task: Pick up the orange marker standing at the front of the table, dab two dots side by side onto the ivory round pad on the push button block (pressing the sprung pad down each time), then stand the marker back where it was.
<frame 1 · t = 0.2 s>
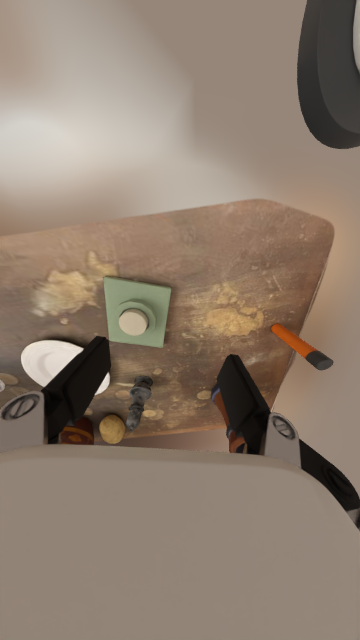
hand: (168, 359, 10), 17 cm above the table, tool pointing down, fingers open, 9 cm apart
push button block: (139, 314, 27), on the table
jug: (78, 421, 48), on the table
marker: (275, 327, 29), on the table
chess piece: (143, 381, 37), on the table
potato: (116, 417, 47), on the table
circle pad: (134, 322, 24), point 3 cm above the table, slide at 0.1 cm
plate: (73, 366, 34), on the table
mug: (227, 383, 38), on the table
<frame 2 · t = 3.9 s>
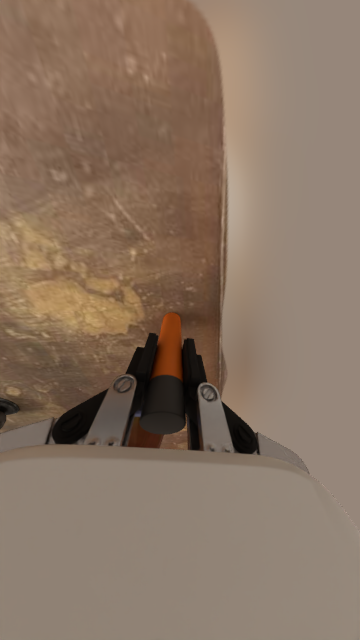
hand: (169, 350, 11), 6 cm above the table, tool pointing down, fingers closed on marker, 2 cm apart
marker: (171, 320, 16), on the table, touching gripper
chess piece: (4, 404, 24), on the table
mug: (136, 407, 25), on the table
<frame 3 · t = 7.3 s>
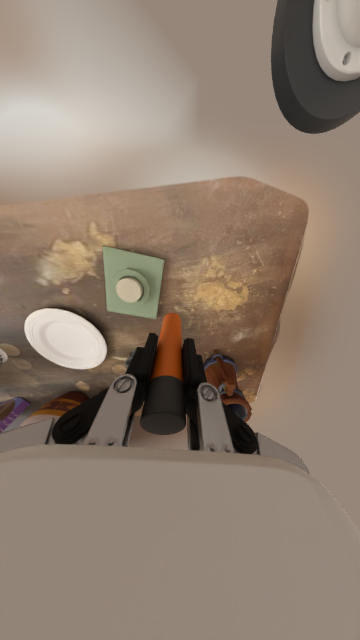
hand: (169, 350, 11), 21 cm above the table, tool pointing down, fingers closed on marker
cereal box: (10, 404, 52), on the table
push button block: (134, 286, 29), on the table
jug: (76, 397, 50), on the table
marker: (172, 320, 16), point 16 cm above the table, touching gripper
chess piece: (138, 355, 40), on the table
circle pad: (129, 290, 26), point 3 cm above the table, slide at 0.1 cm
plate: (73, 338, 37), on the table
mug: (216, 360, 41), on the table
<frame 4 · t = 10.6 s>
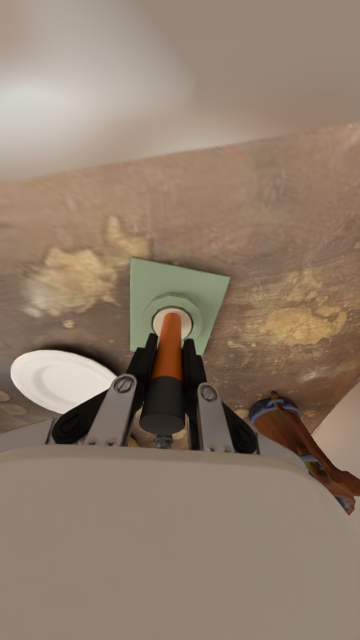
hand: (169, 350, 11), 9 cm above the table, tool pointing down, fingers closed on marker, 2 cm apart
push button block: (173, 315, 19), on the table
marker: (172, 320, 16), point 3 cm above the table, touching circle pad, gripper
chess piece: (167, 398, 30), on the table
potato: (128, 436, 39), on the table
circle pad: (172, 322, 17), point 2 cm above the table, slide at -1.1 cm, touching marker
plate: (79, 381, 27), on the table
mug: (270, 401, 31), on the table
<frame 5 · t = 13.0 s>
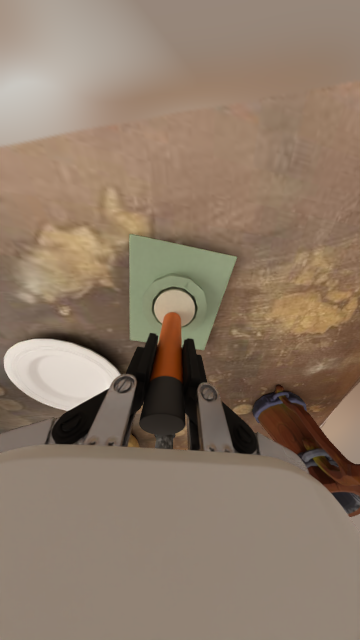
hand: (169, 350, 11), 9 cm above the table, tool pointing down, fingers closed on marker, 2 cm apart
push button block: (175, 301, 18), on the table
marker: (172, 319, 16), point 3 cm above the table, touching circle pad, gripper
chess piece: (168, 392, 29), on the table
potato: (128, 433, 38), on the table
circle pad: (174, 307, 16), point 2 cm above the table, slide at -1.0 cm, touching marker
plate: (77, 374, 26), on the table
mug: (275, 396, 30), on the table
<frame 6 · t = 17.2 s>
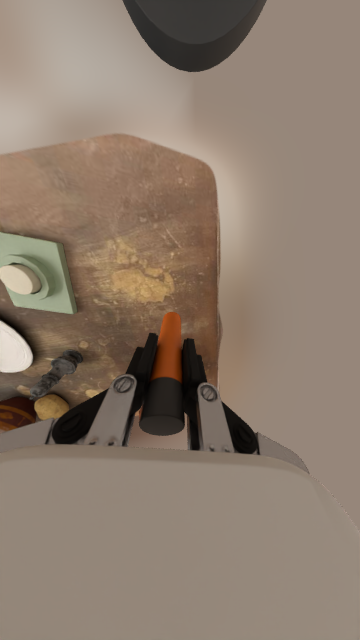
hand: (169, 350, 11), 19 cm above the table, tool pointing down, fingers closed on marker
push button block: (39, 276, 26), on the table
jug: (23, 402, 47), on the table
marker: (172, 319, 16), point 13 cm above the table, touching gripper
chess piece: (73, 356, 36), on the table
potato: (60, 398, 46), on the table
circle pad: (21, 279, 23), point 3 cm above the table, slide at 0.1 cm
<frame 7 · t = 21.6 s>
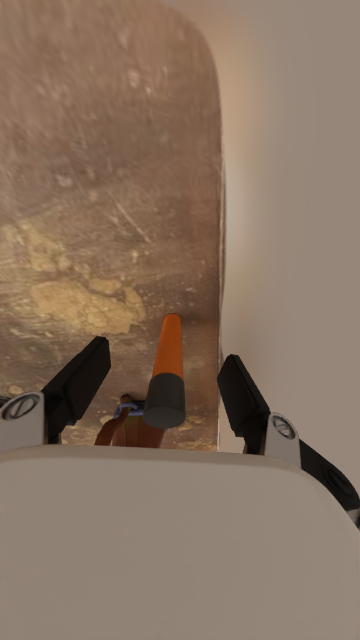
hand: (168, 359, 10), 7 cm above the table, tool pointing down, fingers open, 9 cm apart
marker: (172, 320, 16), on the table
chess piece: (6, 403, 25), on the table
mug: (137, 406, 26), on the table
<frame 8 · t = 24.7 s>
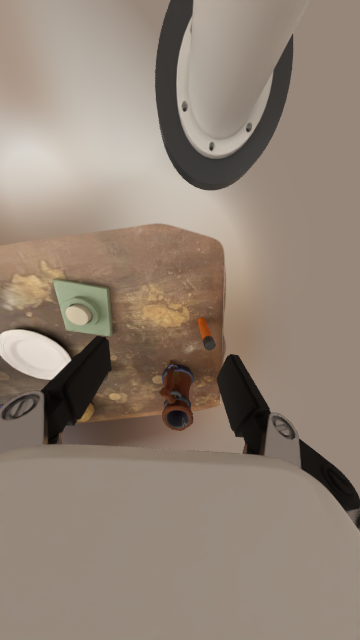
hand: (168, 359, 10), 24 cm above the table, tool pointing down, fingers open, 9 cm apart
push button block: (88, 309, 34), on the table
marker: (201, 320, 36), on the table
potato: (86, 400, 54), on the table
circle pad: (79, 314, 31), point 3 cm above the table, slide at 0.1 cm
plate: (42, 353, 41), on the table
mug: (175, 369, 45), on the table
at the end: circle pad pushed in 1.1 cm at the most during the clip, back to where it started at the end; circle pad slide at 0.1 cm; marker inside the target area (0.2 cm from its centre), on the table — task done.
